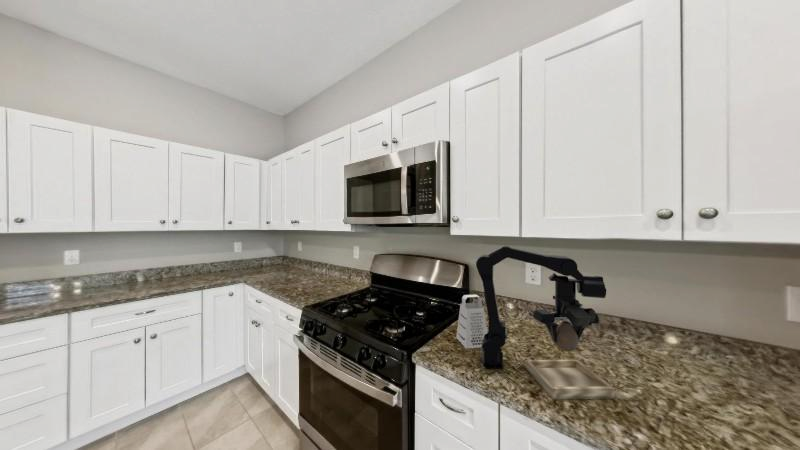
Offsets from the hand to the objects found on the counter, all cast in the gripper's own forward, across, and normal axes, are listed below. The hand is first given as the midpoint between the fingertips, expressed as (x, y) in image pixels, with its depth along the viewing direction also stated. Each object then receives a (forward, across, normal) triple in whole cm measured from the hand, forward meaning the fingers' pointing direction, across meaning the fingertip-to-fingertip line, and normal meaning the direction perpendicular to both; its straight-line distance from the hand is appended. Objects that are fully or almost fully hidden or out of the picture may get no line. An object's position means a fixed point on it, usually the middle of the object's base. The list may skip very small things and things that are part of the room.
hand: (565, 342), depth 85 cm
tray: (+12, -1, -2) cm, 12 cm away
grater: (+12, -23, +27) cm, 37 cm away
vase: (+2, 0, 0) cm, 2 cm away
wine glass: (+12, +23, +30) cm, 40 cm away
